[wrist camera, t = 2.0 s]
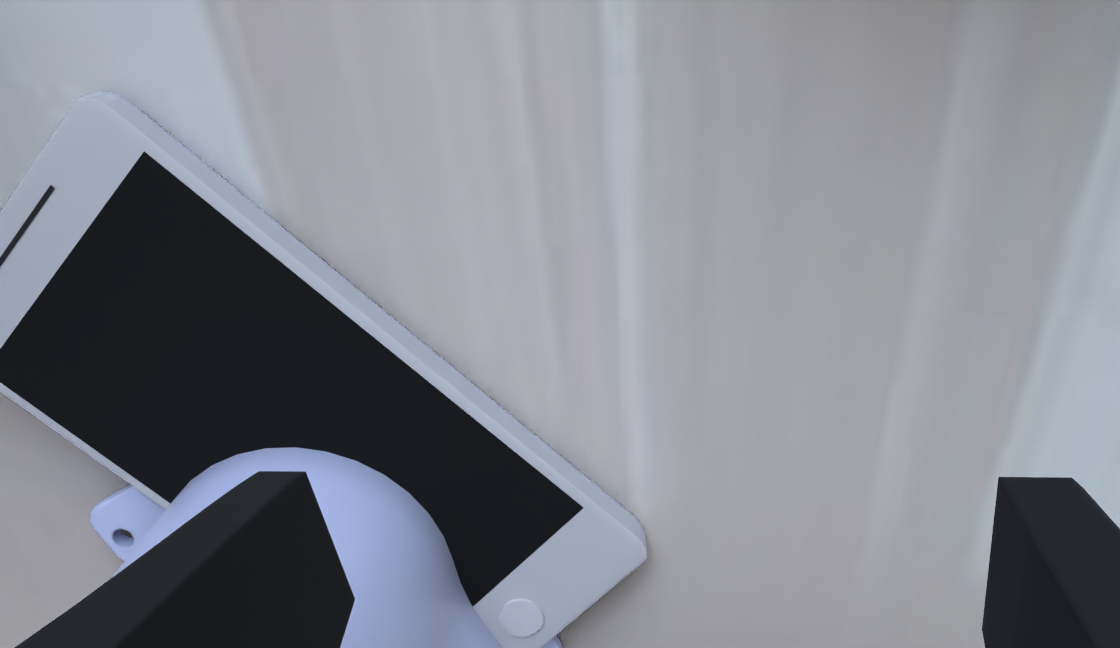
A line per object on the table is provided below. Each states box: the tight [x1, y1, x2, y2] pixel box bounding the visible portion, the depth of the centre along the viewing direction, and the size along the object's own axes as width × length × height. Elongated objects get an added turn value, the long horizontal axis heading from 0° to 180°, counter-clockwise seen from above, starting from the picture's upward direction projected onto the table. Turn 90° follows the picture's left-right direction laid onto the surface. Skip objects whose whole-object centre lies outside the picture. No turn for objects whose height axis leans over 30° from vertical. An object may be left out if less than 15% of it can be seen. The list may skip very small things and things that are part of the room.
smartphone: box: [0, 91, 648, 648], centre depth 20 cm, size 7×15×1 cm, turn 47°
